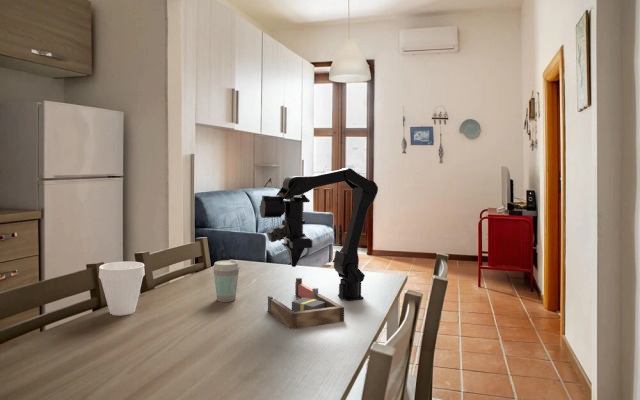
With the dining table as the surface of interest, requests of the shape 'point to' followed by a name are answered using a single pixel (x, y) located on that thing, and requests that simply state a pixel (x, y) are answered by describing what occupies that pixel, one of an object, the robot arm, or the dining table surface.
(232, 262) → the coffee cup
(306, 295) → the gate
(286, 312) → the tan frame
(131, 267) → the cup
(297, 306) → the grey taped parcel
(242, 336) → the dining table surface
